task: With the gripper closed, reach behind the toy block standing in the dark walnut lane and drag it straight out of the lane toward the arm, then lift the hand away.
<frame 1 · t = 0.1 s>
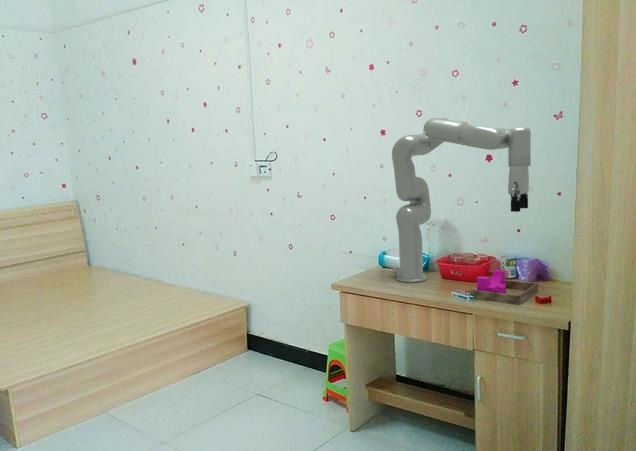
hand: (519, 209, 202), 31 cm above the table, tool pointing down, fingers open, 9 cm apart
toy block: (494, 294, 208), on the table
walnut lane: (504, 294, 205), on the table
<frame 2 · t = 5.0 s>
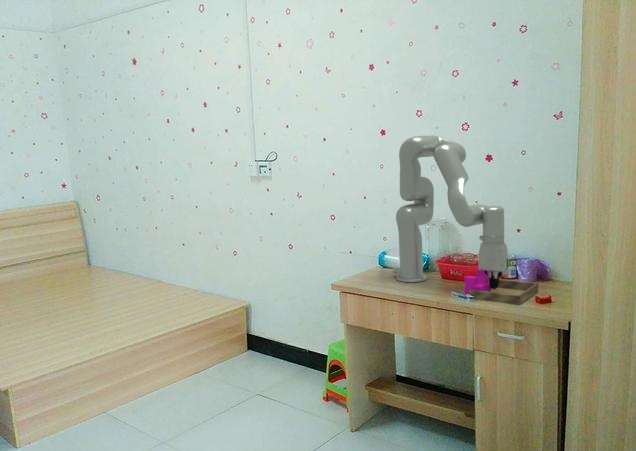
hand: (493, 288, 208), 2 cm above the table, tool pointing down, fingers closed
toy block: (479, 293, 210), on the table, touching gripper
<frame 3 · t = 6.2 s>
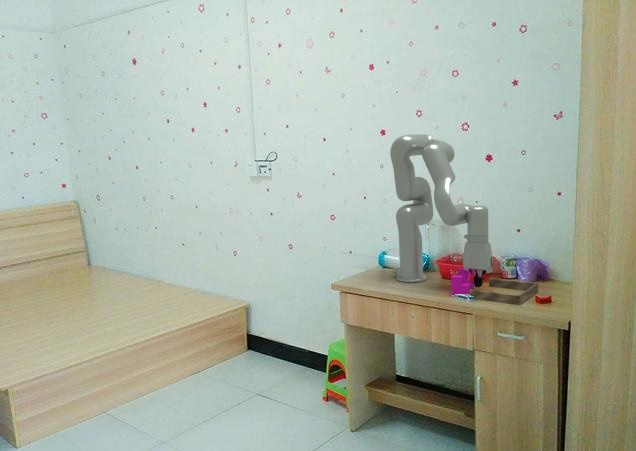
hand: (478, 286, 211), 2 cm above the table, tool pointing down, fingers closed
toy block: (464, 292, 213), on the table
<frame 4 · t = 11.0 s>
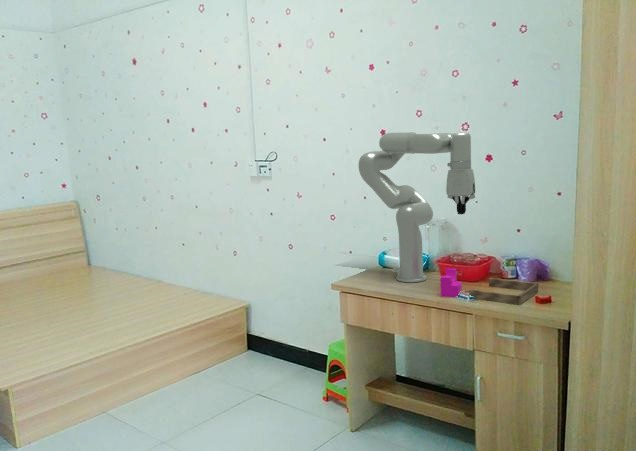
hand: (461, 213, 214), 29 cm above the table, tool pointing down, fingers closed
toy block: (452, 292, 213), on the table
at the end: toy block inside the target area (5.4 cm from its centre), on the table; toy block tilted 0°; toy block moved 15.7 cm from its start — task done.
